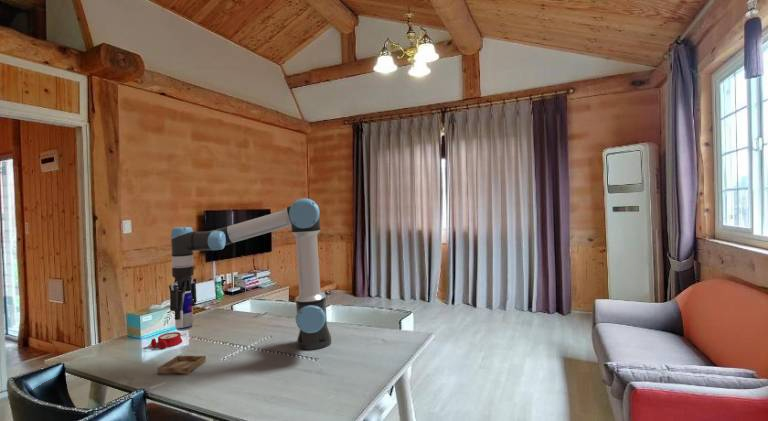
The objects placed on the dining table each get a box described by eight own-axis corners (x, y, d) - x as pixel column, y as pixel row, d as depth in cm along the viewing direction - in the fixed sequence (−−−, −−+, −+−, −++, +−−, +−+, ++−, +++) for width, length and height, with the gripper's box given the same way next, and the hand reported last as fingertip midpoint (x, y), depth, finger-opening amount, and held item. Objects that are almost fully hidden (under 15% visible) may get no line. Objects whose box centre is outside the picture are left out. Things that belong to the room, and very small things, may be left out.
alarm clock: (189, 333, 181) (159, 336, 168) (187, 346, 180) (157, 351, 167) (174, 330, 186) (144, 333, 172) (172, 344, 184) (141, 348, 171)
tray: (205, 361, 155) (205, 355, 155) (187, 374, 143) (187, 368, 143) (178, 361, 156) (178, 355, 156) (157, 374, 144) (157, 368, 144)
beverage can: (185, 331, 147) (184, 293, 147) (173, 331, 148) (172, 292, 148) (195, 327, 152) (194, 290, 152) (183, 326, 154) (182, 289, 153)
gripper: (188, 262, 160) (190, 317, 160) (157, 270, 141) (159, 332, 142) (205, 262, 159) (206, 318, 159) (176, 270, 140) (177, 332, 141)
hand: (184, 324), depth 150 cm, fingers closed on beverage can, 5 cm apart
